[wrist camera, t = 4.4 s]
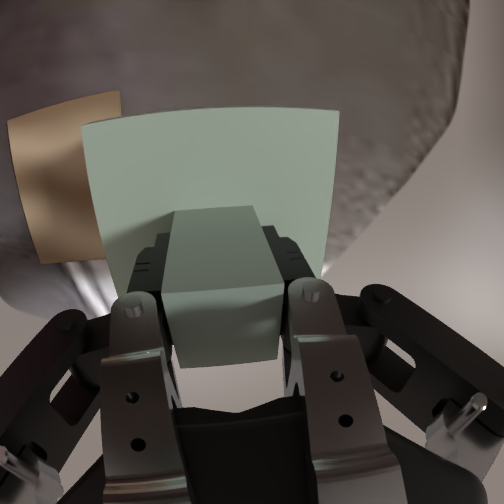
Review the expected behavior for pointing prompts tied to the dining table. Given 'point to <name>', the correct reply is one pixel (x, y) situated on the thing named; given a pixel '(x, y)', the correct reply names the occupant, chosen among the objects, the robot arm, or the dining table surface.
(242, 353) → the lid
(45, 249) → the cork mat
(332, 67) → the dining table surface
